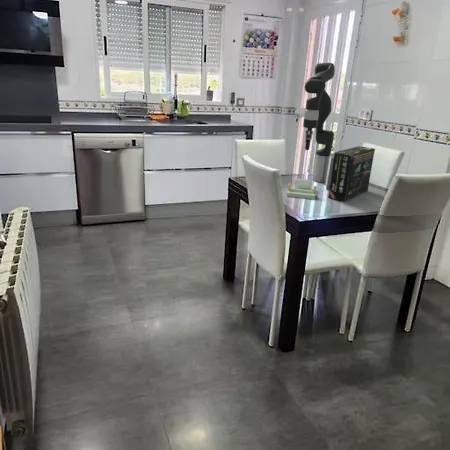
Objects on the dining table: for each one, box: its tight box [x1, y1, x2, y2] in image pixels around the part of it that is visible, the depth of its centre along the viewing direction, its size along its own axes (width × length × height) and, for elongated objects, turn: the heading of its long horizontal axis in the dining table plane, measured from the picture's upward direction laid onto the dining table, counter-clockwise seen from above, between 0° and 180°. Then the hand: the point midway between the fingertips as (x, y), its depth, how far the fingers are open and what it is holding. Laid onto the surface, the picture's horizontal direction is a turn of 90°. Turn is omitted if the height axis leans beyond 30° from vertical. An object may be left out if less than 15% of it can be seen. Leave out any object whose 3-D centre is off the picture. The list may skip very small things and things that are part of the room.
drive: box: [293, 177, 313, 191], centre depth 243 cm, size 5×10×6 cm, turn 78°
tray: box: [286, 182, 317, 200], centre depth 230 cm, size 11×16×6 cm
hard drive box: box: [325, 153, 334, 190], centre depth 250 cm, size 16×8×20 cm, turn 168°
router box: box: [328, 145, 376, 203], centre depth 234 cm, size 36×11×27 cm, turn 141°
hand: (307, 148), depth 221 cm, fingers open, 8 cm apart
